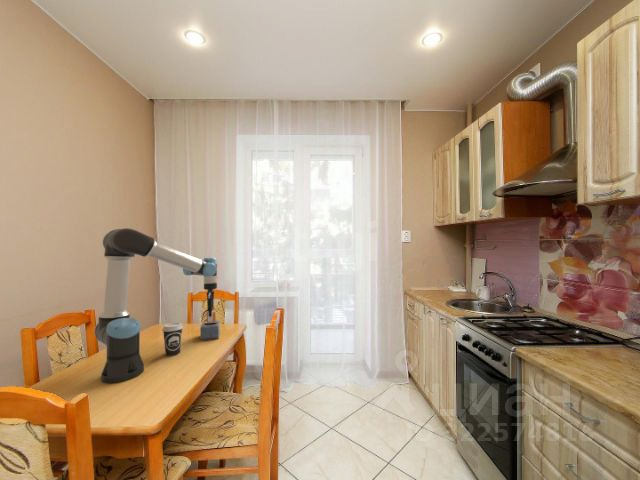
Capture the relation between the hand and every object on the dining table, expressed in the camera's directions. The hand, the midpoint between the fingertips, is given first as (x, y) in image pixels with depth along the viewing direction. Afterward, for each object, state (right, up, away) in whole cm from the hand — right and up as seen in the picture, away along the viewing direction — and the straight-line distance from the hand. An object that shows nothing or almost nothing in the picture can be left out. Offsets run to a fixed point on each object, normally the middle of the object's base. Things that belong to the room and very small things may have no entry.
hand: (210, 320), depth 163 cm
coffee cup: (-10, -10, -25) cm, 28 cm away
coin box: (0, -10, 0) cm, 10 cm away
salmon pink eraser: (0, -1, 0) cm, 1 cm away
